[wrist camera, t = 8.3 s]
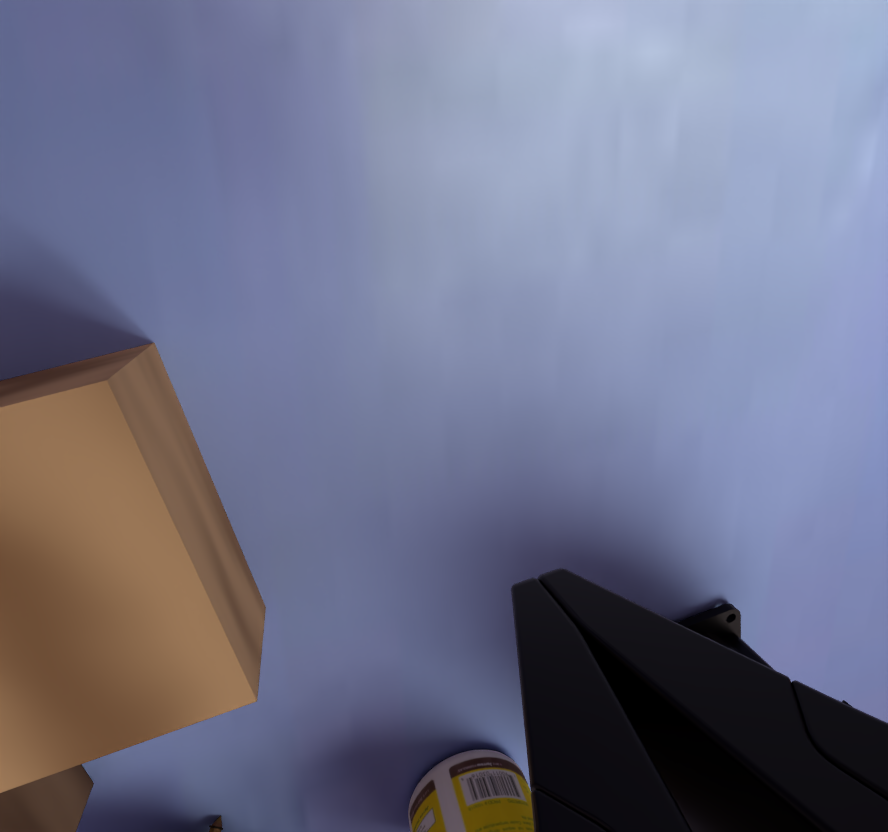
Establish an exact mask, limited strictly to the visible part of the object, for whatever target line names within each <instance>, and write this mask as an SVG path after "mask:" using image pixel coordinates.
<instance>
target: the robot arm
mask: <svg viewBox="0 0 888 832" xmlns="http://www.w3.org/2000/svg"><path fill="white" fill-rule="evenodd" d="M511 592H512V602H513V613H514V623H515V633H516V644H517V654H518V664H519V675H520V685H521V695H522V705H523V716H524V726H525V736H526V747H527V757H528V767H529V778H530V787H531V802H532V812H533V823H534V832H888V723H886V722H884V721H882V720H879V719H877V718H875V717H873V716H871V715H869V714H866V713H864V712H862V711H860V710H858V709H855V708H853V707H852V706H851V705H849V704H848V703H847V702H846V701H844V700H843V701H842V702H840V701H838V700H836V699H834V698H832V697H829V696H827V695H825V694H823V693H821V692H819V691H817V690H815V689H813V688H811V687H809V686H807V685H804V684H802V683H800V682H798V681H792V683H791V681H790V679H789V678H788V677H787V676H785V675H783V674H781V673H779V672H777V671H775V670H774V669H773V668H772V667H771V666H770V665H769V664H767V663H766V662H765V661H764V660H763V659H762V658H761V657H760V656H759V655H758V654H757V653H756V652H755V651H754V650H752V649H751V648H750V647H749V646H748V645H747V644H746V643H745V642H744V641H743V640H742V639H741V615H740V611H739V610H737V609H736V608H735V607H734V606H733V605H732V604H724V605H721V606H719V607H716V608H714V609H711V610H708V611H706V612H703V613H701V614H698V615H695V616H693V617H690V618H688V619H685V620H682V621H680V622H677V623H676V622H674V621H671V620H669V619H667V618H665V617H663V616H661V615H659V614H657V613H655V612H653V611H651V610H649V609H647V608H645V607H642V606H640V605H638V604H636V603H634V602H632V601H630V600H628V599H626V598H624V597H622V596H620V595H618V594H616V593H613V592H611V591H609V590H607V589H605V588H603V587H601V586H599V585H597V584H595V583H593V582H591V581H589V580H587V579H584V578H582V577H580V576H578V575H576V574H574V573H572V572H570V571H568V570H566V569H562V568H559V569H556V570H553V571H550V572H547V573H544V574H541V575H540V576H539V577H538V579H536V578H530V579H527V580H525V581H522V582H519V583H516V584H514V585H513V586H512V588H511Z"/></svg>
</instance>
